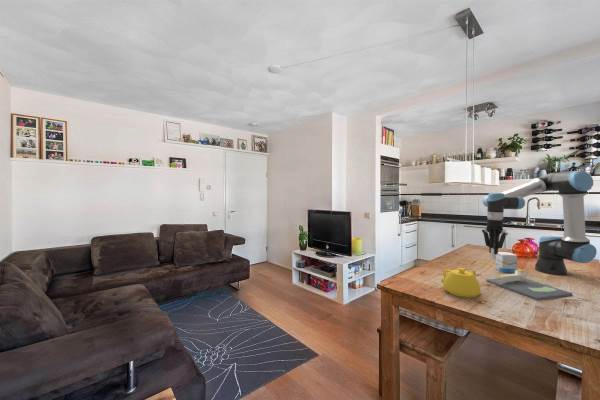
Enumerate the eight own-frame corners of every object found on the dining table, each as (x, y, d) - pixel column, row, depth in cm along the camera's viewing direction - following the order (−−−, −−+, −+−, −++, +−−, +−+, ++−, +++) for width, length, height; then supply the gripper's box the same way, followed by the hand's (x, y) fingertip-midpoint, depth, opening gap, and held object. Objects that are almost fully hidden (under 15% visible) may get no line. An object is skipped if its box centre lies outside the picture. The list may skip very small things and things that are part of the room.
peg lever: (519, 278, 149) (519, 268, 149) (528, 281, 144) (528, 271, 144) (492, 281, 145) (493, 271, 145) (501, 284, 140) (501, 274, 140)
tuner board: (518, 278, 155) (518, 275, 155) (572, 295, 130) (572, 292, 130) (486, 281, 149) (486, 278, 149) (536, 300, 124) (536, 297, 124)
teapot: (468, 301, 123) (469, 275, 122) (432, 288, 140) (432, 265, 139) (490, 293, 132) (491, 269, 132) (454, 282, 149) (455, 260, 148)
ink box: (517, 273, 164) (517, 255, 164) (502, 272, 166) (502, 254, 165) (509, 269, 173) (509, 252, 172) (494, 268, 174) (495, 251, 174)
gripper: (479, 218, 154) (477, 257, 155) (503, 220, 142) (501, 262, 143) (487, 217, 157) (485, 255, 158) (511, 220, 145) (509, 261, 146)
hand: (493, 259), depth 150 cm, fingers closed
